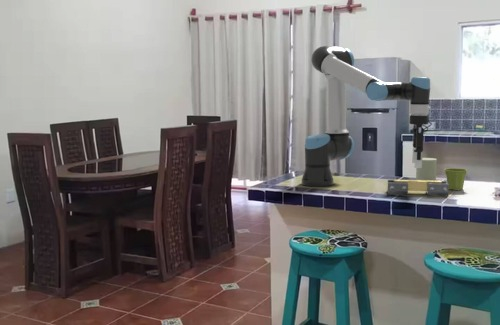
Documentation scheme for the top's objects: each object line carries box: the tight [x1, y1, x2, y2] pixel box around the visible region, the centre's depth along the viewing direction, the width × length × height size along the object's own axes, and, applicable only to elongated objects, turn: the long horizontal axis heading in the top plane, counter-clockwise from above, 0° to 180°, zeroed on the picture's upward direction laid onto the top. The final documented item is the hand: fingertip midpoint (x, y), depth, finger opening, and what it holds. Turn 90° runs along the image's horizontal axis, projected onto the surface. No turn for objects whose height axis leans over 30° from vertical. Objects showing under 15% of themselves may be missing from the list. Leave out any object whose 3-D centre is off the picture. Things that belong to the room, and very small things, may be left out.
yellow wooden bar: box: [393, 179, 443, 192], centre depth 215 cm, size 19×4×4 cm, turn 76°
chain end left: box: [387, 179, 409, 196], centre depth 217 cm, size 8×8×5 cm
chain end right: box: [425, 180, 450, 197], centre depth 213 cm, size 8×8×5 cm
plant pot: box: [443, 167, 468, 191], centre depth 224 cm, size 9×9×9 cm
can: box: [415, 157, 438, 181], centre depth 240 cm, size 9×9×12 cm
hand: (416, 165), depth 215 cm, fingers open, 13 cm apart
